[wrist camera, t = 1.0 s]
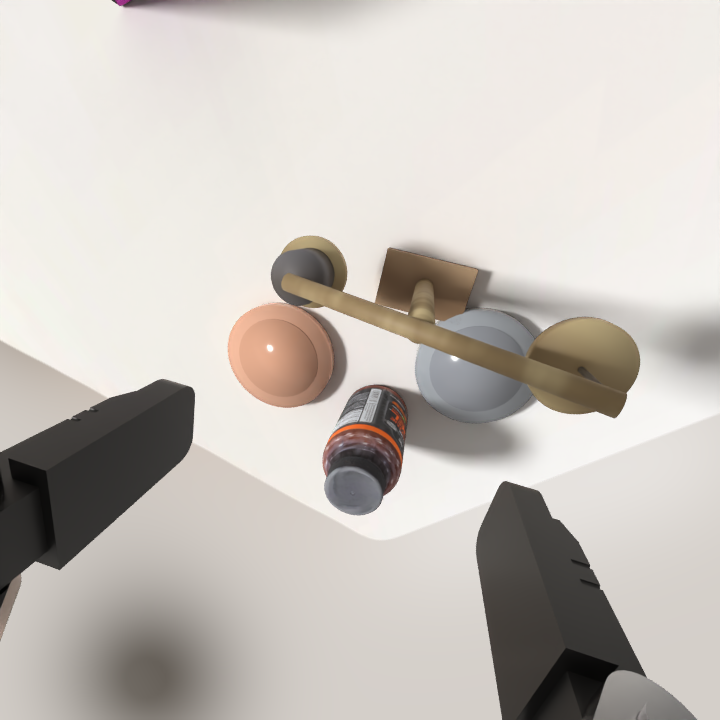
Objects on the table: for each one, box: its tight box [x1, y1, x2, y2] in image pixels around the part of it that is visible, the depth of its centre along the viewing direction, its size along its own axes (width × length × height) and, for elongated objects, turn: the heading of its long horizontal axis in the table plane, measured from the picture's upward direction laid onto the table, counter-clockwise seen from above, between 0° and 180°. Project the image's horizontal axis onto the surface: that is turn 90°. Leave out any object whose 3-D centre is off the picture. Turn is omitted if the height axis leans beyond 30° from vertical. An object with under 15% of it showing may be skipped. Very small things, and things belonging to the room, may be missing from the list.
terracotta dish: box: [228, 303, 334, 408], centre depth 32 cm, size 10×10×1 cm
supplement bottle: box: [323, 385, 408, 515], centre depth 28 cm, size 6×6×11 cm
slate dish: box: [415, 308, 535, 423], centre depth 29 cm, size 10×10×1 cm
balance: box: [271, 236, 640, 418], centre depth 20 cm, size 5×20×17 cm, turn 77°
